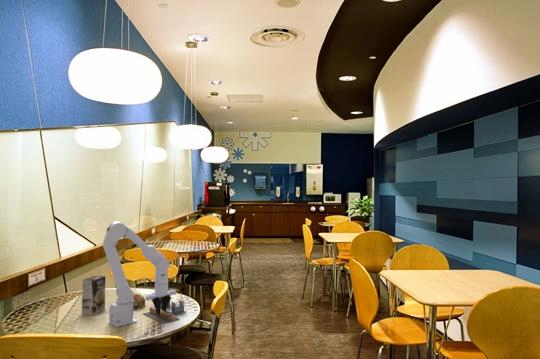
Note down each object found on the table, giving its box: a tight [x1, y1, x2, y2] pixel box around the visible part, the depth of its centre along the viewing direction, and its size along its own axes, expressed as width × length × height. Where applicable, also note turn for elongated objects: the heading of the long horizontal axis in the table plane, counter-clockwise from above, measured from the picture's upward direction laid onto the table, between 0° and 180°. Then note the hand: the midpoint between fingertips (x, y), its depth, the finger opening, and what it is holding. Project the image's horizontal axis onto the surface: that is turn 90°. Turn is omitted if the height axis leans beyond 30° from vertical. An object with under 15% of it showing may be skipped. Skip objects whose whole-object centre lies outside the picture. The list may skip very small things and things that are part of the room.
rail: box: [149, 305, 174, 321], centre depth 183 cm, size 2×16×2 cm, turn 46°
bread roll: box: [133, 293, 146, 310], centre depth 199 cm, size 10×10×8 cm
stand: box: [159, 297, 187, 317], centre depth 193 cm, size 6×17×6 cm, turn 46°
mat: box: [142, 311, 181, 325], centre depth 183 cm, size 8×18×1 cm, turn 46°
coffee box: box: [81, 275, 106, 316], centre depth 189 cm, size 9×6×16 cm
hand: (161, 313), depth 183 cm, fingers closed on rail, 2 cm apart
